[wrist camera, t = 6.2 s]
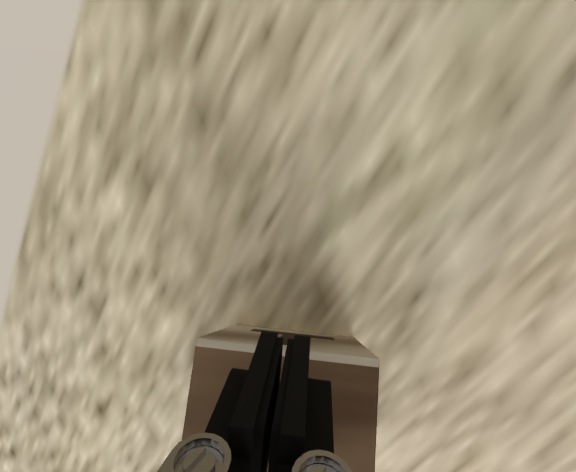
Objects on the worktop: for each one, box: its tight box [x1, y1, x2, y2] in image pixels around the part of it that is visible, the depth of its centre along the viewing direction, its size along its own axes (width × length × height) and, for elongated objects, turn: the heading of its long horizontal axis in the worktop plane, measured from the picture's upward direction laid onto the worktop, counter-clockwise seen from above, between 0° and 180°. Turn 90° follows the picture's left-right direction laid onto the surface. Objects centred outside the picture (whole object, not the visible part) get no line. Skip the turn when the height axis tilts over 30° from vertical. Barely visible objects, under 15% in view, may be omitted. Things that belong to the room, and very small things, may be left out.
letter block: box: [182, 325, 379, 472], centre depth 15 cm, size 7×7×7 cm
